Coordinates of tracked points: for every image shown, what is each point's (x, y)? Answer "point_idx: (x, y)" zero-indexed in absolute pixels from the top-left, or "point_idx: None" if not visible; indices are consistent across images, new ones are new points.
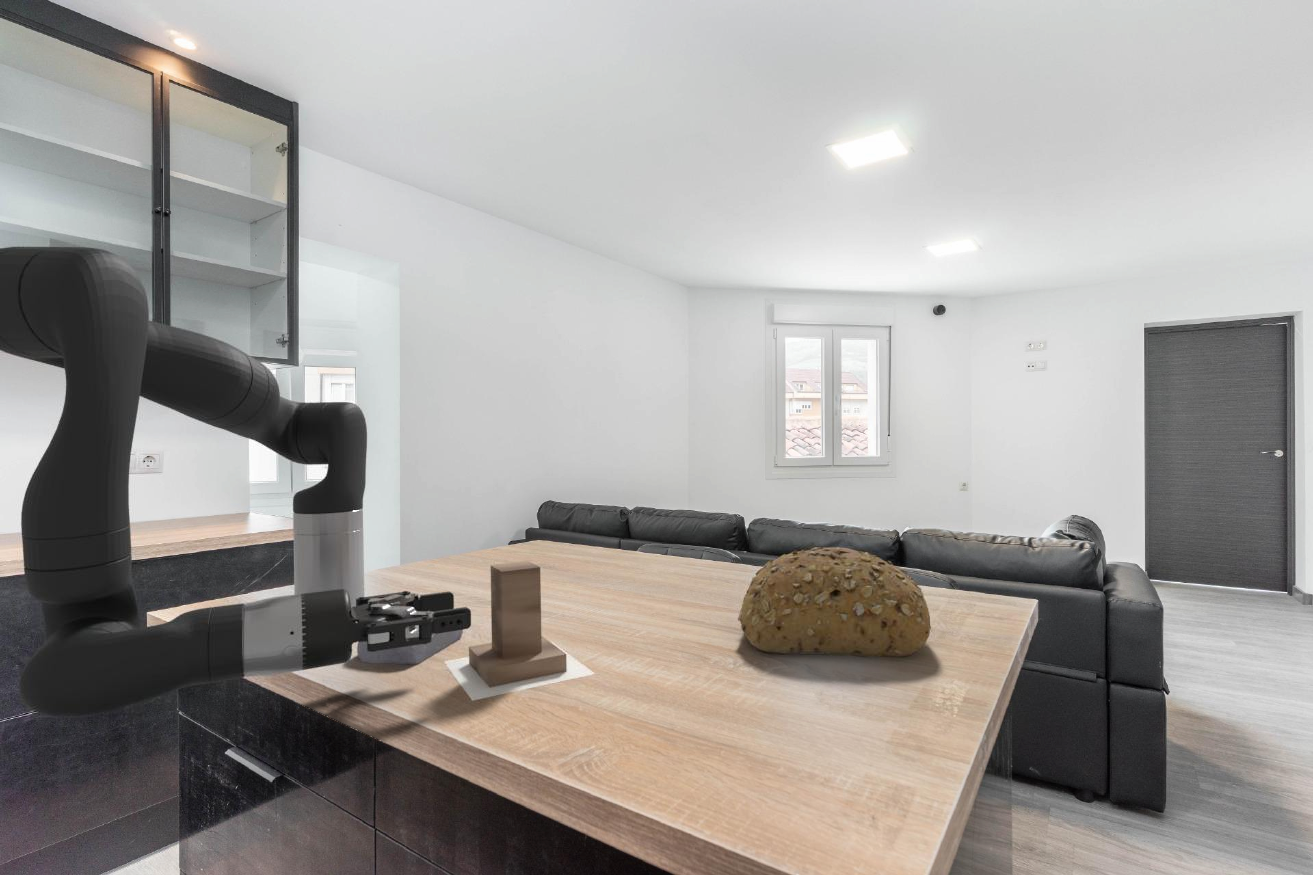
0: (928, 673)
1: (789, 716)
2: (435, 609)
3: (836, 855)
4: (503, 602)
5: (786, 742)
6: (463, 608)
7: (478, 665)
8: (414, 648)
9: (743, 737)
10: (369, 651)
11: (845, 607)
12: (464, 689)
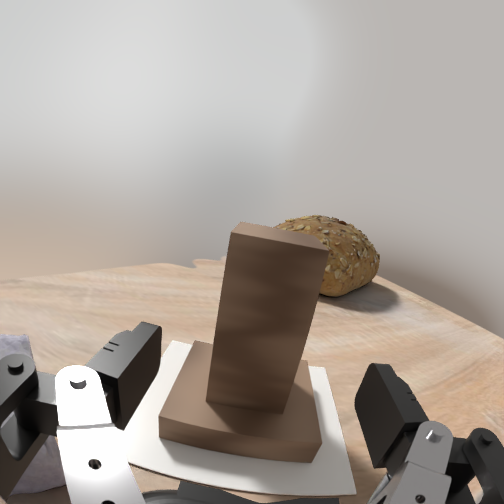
0: (389, 290)
1: (437, 334)
2: (139, 392)
3: None
4: (311, 319)
5: (467, 347)
6: (388, 369)
7: (235, 444)
8: (56, 465)
9: (464, 355)
10: None
11: (371, 258)
12: (297, 494)
